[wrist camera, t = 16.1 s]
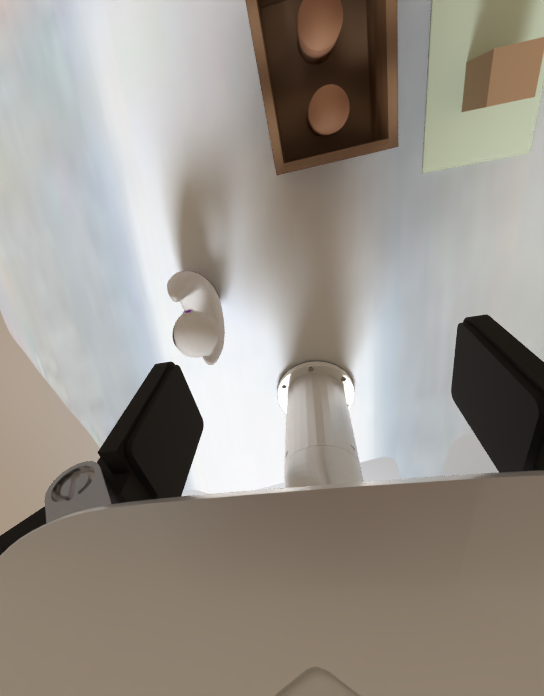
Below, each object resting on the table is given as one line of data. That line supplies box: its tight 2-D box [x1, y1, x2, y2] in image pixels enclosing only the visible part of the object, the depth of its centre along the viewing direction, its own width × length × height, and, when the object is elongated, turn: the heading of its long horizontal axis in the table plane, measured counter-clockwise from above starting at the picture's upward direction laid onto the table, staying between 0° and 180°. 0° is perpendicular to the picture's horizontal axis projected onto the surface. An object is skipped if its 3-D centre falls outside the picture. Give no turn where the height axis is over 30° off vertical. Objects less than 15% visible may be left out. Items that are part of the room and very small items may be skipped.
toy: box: [167, 271, 225, 365], centre depth 39 cm, size 11×7×15 cm, turn 19°
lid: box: [422, 0, 544, 173], centre depth 30 cm, size 14×11×6 cm
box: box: [246, 0, 398, 175], centre depth 29 cm, size 14×11×8 cm
